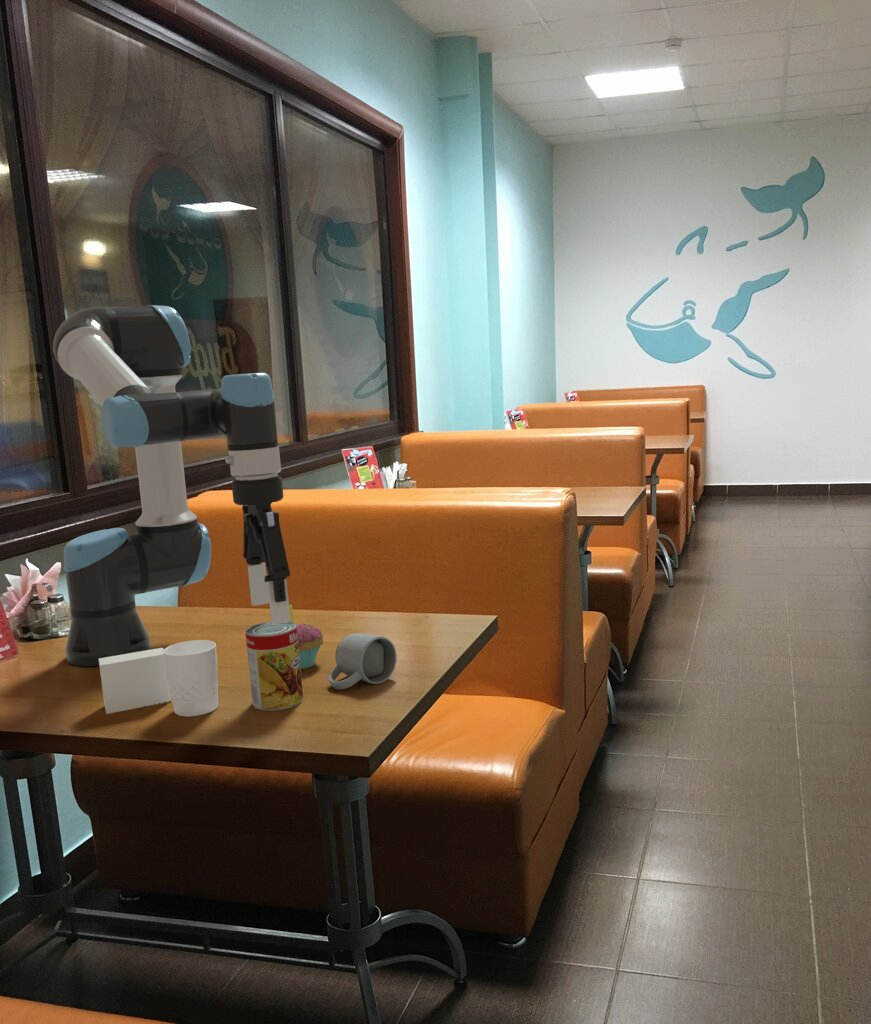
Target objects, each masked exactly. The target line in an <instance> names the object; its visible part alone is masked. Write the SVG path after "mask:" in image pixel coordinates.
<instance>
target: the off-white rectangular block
mask: <svg viewBox="0 0 871 1024" xmlns="http://www.w3.org/2000/svg"><path fill="white" fill-rule="evenodd" d="M164 649H165V648H164V647H159V648H152V649H151V648H150V650H146V651H140V652H134V653H128V654H122V655H117V656H111V657H105V658H99V674H100V681H101V688H102V689H101V690H102V697H103V698H102V699H103V704H104V710H105V714H106V715H109V714H114V713H119V712H124V711H129V710H135V709H139V708H144V706H145V707H149V706H155V705H159V703H160V704H165V703H164V702H166V703H169V701H171V702H173V700H172V696H171V693H170V688H169V682H168V677H167V671H166V665H165V658H164V652H163V651H164ZM154 704H155V705H154Z"/></svg>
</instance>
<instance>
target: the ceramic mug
mask: <svg viewBox="0 0 871 1024" xmlns="http://www.w3.org/2000/svg"><path fill="white" fill-rule="evenodd" d="M397 656H398V655H397V650H396V647H395V645H394V643H393V642H392V641H391V640H390V638H388V637H385V636H382V635H374V634H366V633H352V634H348V635H346V636H345V637H343V638H342V639H341V640H340V641H339V643H338V645H337V647H336V649H335V655H334V657H335V663H336V666H335V667H334V668H333V669H332V670H331V672H330V673H329V674H328V682H329V684H330V685H331V688H333V689H335V690H337V691H338V690H341V691H342V690H345V689H348V688H351V687H353V686H354V685H355V684H357V683H358V682H360V681H362V682H364V683H368V684H372V685H380V684H382V683H385V682H387V680H388V679H389V678H391V676H392V675H393V673H394V671H395V669H396V664H397V660H398V659H397ZM342 673H343V674H345V675H346V676H348V677H347V678H345V679H343V680H340V681H335V680H336V679H337V678H338V677H339V676H340V675H341V674H342Z"/></svg>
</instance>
